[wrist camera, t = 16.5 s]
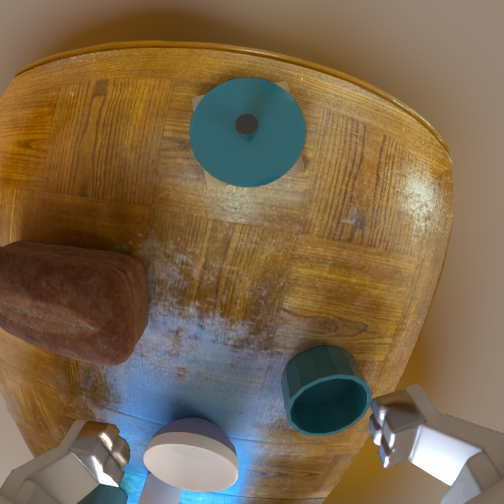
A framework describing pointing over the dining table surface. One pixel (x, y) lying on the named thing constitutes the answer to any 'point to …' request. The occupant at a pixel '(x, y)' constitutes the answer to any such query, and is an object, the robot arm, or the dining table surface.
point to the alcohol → (159, 492)
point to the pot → (324, 391)
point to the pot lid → (247, 132)
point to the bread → (73, 300)
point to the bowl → (192, 456)
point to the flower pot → (105, 495)
